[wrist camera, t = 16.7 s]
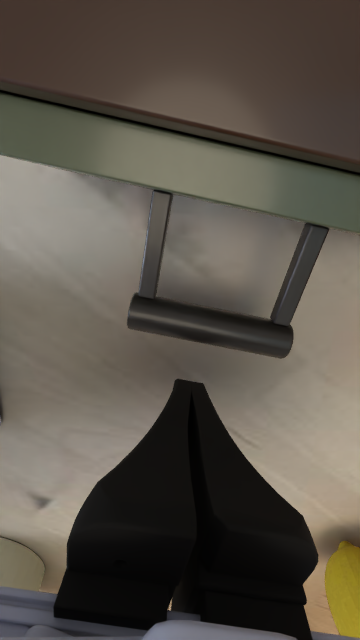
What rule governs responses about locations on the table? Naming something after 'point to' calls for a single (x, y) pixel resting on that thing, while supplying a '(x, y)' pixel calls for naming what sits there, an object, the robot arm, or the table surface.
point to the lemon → (344, 588)
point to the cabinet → (198, 69)
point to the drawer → (198, 183)
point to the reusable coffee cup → (19, 566)
